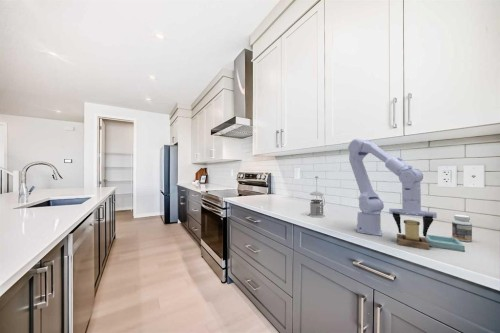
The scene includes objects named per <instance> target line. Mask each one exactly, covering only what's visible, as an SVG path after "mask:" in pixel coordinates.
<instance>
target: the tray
mask: <svg viewBox="0 0 500 333" xmlns="http://www.w3.org/2000/svg"><path fill="white" fill-rule="evenodd" d="M424 237H425V236H424ZM425 239H426V240H427V242H428V244H429V247H432V248H436V249H437V248H438V249H439V248H440V249H446V250H452V251H458V252H465V249H466V248H465V245H464V244H463V243H462V241H459V240H458V239H457V238H453V237H450V236H449V237H448V236H443V235H442V236H440V235H434V234H427V235H426V237H425Z"/></svg>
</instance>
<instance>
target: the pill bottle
mask: <svg viewBox="0 0 500 333" xmlns="http://www.w3.org/2000/svg"><path fill="white" fill-rule="evenodd" d="M453 218H454V219H453V220H452V221H451V222H452V223H451V227H452V228H451V230H452V236H451V238H457V239H458V240H459V241H460V242H465V243H466V242H470V243H471V242H472V241H473V224H472V222H471V221H470V220H471V217H470V216H469V215H465V214H454V215H453Z"/></svg>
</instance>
